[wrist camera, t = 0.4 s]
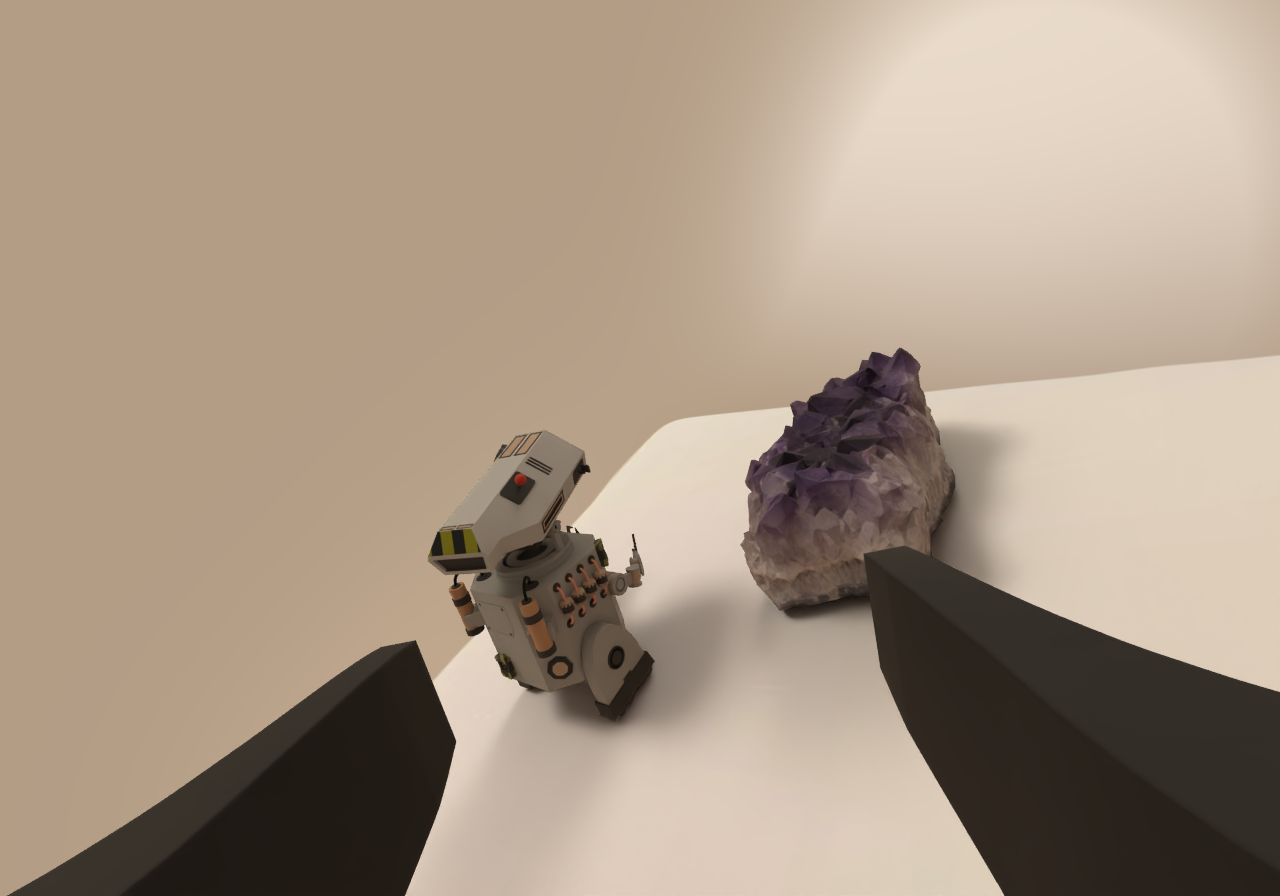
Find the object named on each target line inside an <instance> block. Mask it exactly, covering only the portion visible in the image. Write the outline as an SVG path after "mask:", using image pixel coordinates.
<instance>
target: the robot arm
mask: <svg viewBox="0 0 1280 896" xmlns="http://www.w3.org/2000/svg"><path fill="white" fill-rule="evenodd" d="M863 555H864V562H865V569H866V575H867V582H868V589H869V595H870V602H871V609H872V615H873V622H874V629H875V635H876V642H877V649H878V655H879V662H880V668H881V670H882V673H883V675H884V677H885V680H886V682H887V684H888V687H889V689H890V691H891V694H892V696H893V698H894V701H895V703H896V705H897V707H898V709H899V712H900V714H901V716H902V718H903V721H904V723H905V725H906V727H907V729H908V731H909V733H910V735H911V737H912V738H913V740H914V742H915V744H916V745H917V747H918V749H919V750H920V752H921V754H922V756H923V757H924V759H925V761H926V763H927V764H928V766H929V768H930V769H931V771H932V773H933V775H934V776H935V778H936V780H937V781H938V783H939V785H940V787H941V788H942V790H943V792H944V793H945V795H946V797H947V798H948V800H949V802H950V804H951V805H952V807H953V809H954V810H955V812H956V814H957V815H958V817H959V819H960V820H961V822H962V824H963V826H964V827H965V829H966V831H967V832H968V834H969V836H970V837H971V839H972V841H973V843H974V844H975V846H976V848H977V849H978V851H979V853H980V854H981V856H982V858H983V860H984V861H985V863H986V865H987V866H988V868H989V870H990V871H991V873H992V875H993V877H994V878H995V880H996V882H997V883H998V885H999V887H1000V888H1001V890H1002V892H1003V894H1004V896H1280V692H1277V691H1274V690H1271V689H1267V688H1264V687H1260V686H1257V685H1254V684H1250V683H1247V682H1243V681H1240V680H1237V679H1234V678H1230V677H1227V676H1224V675H1221V674H1218V673H1215V672H1212V671H1209V670H1206V669H1203V668H1200V667H1197V666H1194V665H1191V664H1188V663H1185V662H1182V661H1179V660H1176V659H1173V658H1170V657H1167V656H1164V655H1161V654H1158V653H1155V652H1152V651H1149V650H1146V649H1143V648H1141V647H1138V646H1135V645H1132V644H1130V643H1127V642H1124V641H1121V640H1119V639H1116V638H1113V637H1111V636H1108V635H1106V634H1103V633H1101V632H1098V631H1096V630H1093V629H1091V628H1088V627H1086V626H1083V625H1081V624H1078V623H1076V622H1073V621H1071V620H1068V619H1066V618H1063V617H1061V616H1058V615H1056V614H1054V613H1051V612H1049V611H1047V610H1044V609H1042V608H1040V607H1037V606H1035V605H1033V604H1030V603H1028V602H1026V601H1024V600H1021V599H1019V598H1017V597H1015V596H1012V595H1010V594H1008V593H1006V592H1004V591H1002V590H999V589H997V588H995V587H993V586H991V585H989V584H986V583H984V582H982V581H980V580H978V579H976V578H974V577H972V576H970V575H968V574H965V573H963V572H961V571H959V570H957V569H955V568H953V567H951V566H949V565H947V564H945V563H943V562H941V561H938V560H936V559H934V558H932V557H930V556H928V555H926V554H924V553H921V552H919V551H917V550H915V549H912V548H910V547H907V546H900V547H894V548H889V549H884V550H879V551H874V552H869V553H864V554H863ZM455 744H456V739H455V737H454V734H453V732H452V729H451V727H450V724H449V722H448V719H447V717H446V715H445V712H444V710H443V707H442V705H441V702H440V700H439V697H438V695H437V692H436V690H435V687H434V685H433V682H432V680H431V677H430V675H429V672H428V670H427V667H426V665H425V662H424V660H423V657H422V655H421V653H420V650H419V647H418V645H417V642H416V640H415V641H411V642H405V643H401V644H395V645H389V646H385V647H380V648H379V649H377V650H375V651H373V652H372V653H370V654H368V655H367V656H365V657H364V658H362V659H360V660H359V661H357V662H356V663H354V664H353V665H351V666H350V667H348V668H347V669H346V670H344V671H343V672H341V673H340V674H338V675H337V676H336V677H334V678H333V679H331V680H330V681H329V682H327V683H326V684H324V685H323V686H322V687H320V688H319V689H318V690H316V691H315V692H313V693H312V694H311V695H309V696H308V697H307V698H306V699H304V700H303V701H301V702H300V703H299V704H297V705H296V706H294V707H293V708H292V709H290V710H289V711H288V712H286V713H285V714H284V715H282V716H281V717H279V718H278V719H277V720H275V721H274V722H273V723H271V724H270V725H269V726H267V727H266V728H265V729H263V730H262V731H261V732H259V733H258V734H256V735H255V736H254V737H252V738H251V739H250V740H248V741H247V742H245V743H244V744H243V745H241V746H240V747H238V748H237V749H235V750H234V751H232V752H231V753H230V754H228V755H227V756H225V757H224V758H223V759H221V760H220V761H218V762H217V763H215V764H214V765H213V766H211V767H210V768H208V769H207V770H206V771H204V772H203V773H201V774H200V775H198V776H197V777H196V778H194V779H193V780H191V781H190V782H188V783H187V784H186V785H184V786H183V787H181V788H180V789H178V790H177V791H176V792H174V793H173V794H171V795H170V796H168V797H167V798H165V799H164V800H162V801H161V802H159V803H158V804H156V805H155V806H153V807H152V808H150V809H149V810H147V811H146V812H144V813H143V814H141V815H140V816H138V817H137V818H135V819H134V820H132V821H130V822H129V823H127V824H126V825H124V826H123V827H121V828H119V829H118V830H116V831H115V832H113V833H111V834H110V835H108V836H107V837H105V838H104V839H102V840H100V841H99V842H97V843H95V844H94V845H92V846H91V847H89V848H87V849H86V850H84V851H83V852H81V853H79V854H78V855H76V856H75V857H73V858H71V859H70V860H68V861H66V862H65V863H63V864H61V865H60V866H58V867H56V868H55V869H53V870H51V871H50V872H48V873H46V874H45V875H43V876H41V877H39V878H38V879H36V880H34V881H32V882H31V883H29V884H27V885H25V886H24V887H22V888H20V889H18V890H16V891H15V892H13V893H11V894H9V895H8V896H405V894H406V892H407V889H408V887H409V884H410V882H411V879H412V877H413V874H414V872H415V869H416V867H417V864H418V862H419V859H420V856H421V854H422V851H423V849H424V846H425V844H426V841H427V838H428V836H429V833H430V831H431V828H432V826H433V823H434V820H435V818H436V815H437V812H438V810H439V807H440V804H441V800H442V796H443V793H444V789H445V786H446V782H447V778H448V774H449V770H450V766H451V762H452V757H453V753H454V749H455Z"/></svg>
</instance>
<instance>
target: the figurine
mask: <svg viewBox="0 0 1280 896" xmlns="http://www.w3.org/2000/svg"><path fill="white" fill-rule="evenodd" d="M585 472H590V469H589V466H588V465H586V460H585V453H584V451H583V450H581V449H579V448H577V447H576V446H574V445H572V444H570V443H568V442H566V441H564V440H563V439H561V438H559V437H557V436H555V435H553V434H552V433H549V432H548V431H545V430H543V431H538V432H533V433H528V434H523V435H518V436H515V437H514V438H513V439H512V440H511V442H510V443H509V444H508V445H502V446H501V449H500V450H499V452H498V453H497V455H496V457H495V460H494V463H493V464H492V465H491V467H490V468H489V469H488V470H487V472H486V473H485V474H484V475H483V476H482V478H481V479H480V480H479V481H478V483H477V484H476V485H475V486H474V488H473V489H472V490H471V491H470V492H469V494H468V495H467V496H466V498H465V499H464V500H463V501H462V502H461V504H460V505H459V506H458V507H457V509H456V510H455V511H454V512H453V514H452V515H451V516H450V517H449V518H448V520H447V521H446V522H445V523H444V525H443V526H442V527H441V528H440V530H439V531H438V532H437V535H436V538H435V540H434V543H433V545H432V548H431V550H430V553H429V556H428V562H430V563H431V564H432V565H434V566H435V567H436V568H437V569H438V570H440V571H441V572H442V573H443V574H445V575H453V574H455V577H454V585H453V586H451V587H450V588H449V592H450V594H451V596H452V600H453V602H454V605H455V606H456V607H457V609H458V612H459V614H460V616H461V618H462V620H463V623H464V625H465V627H466V632H467V634H468V636H475V635H478V634H479V633H481V632H482V631H483V630H484V625H486V627H487V629H488V632H489V634H490V636H491V638H492V641H493V643H494V645H495V647H496V650H497V652H498V654H497V655H496V656H495V659H496V661H498V664H499V666H500V668H501V669H500V670H501V673H502V674H503V676H505V677H508V678H509V679H511V680H512V679H515V680H517V681H518V683H519V685H520V686H523V687H525V688H528V689H532V688H533V687H537V688H539V689H542V690H545V691H548V692H552V691H555V690H558V689H561V688H564V687H567V686H570V685H573V684H576V683H579V682H582V681H585V679H587V682H588V684H589V686H590V688H591V690H592V692H593V694H594V695H595V698H596V701H595V704H596V706H597V708H598V711H599V713H600V715H601V716H603V717H606V718H608V719H611V720H614V721H616V720H617V718H618V717H619V716H622V715H623V714H624V713H625V706H626V704H630V703H631V702H632V700H633V694H634V692H635V691H636V689H637V688H638V686H642V685H643V684H644V681H645V675H649V674H650V673H651V671H652V665H653V663H654V662H655V661H654V660H653V658H652V657H651V656H650V655H649V653H648V652H647V651H643V649H642V648H641V647H640V645H639V644H638V642H637V641H636V639H635V638H634V637H633V636H632V635H631V634H630V633H629V632H628V631H627V630H626V629H625V625H624V619H623V616H622V614H621V611H620V608H619V605H618V603H617V600H616V597H615V595H617V596H620V595H623V594H624V593H625V591H626V590H627V587H628V586H629V587H631V588H634V587H639V586H641V585H642V581H640V579H641V574H642V576H644V569H643V565H642V562H641V559H640V556H639V554H638V552H637V547H636V543H635V538H634V534H632V538H633V542H634V548H635V550H634V549H632V551H633V559H632V558H631V557H630V565H631V566H630V567H627V568H626V572H627V573H625V574H622V573H615V572H609V571H606V569H605V566H608V565H609V564H608V557H607V554H606V552H605V550H604V547H603V544H602V540H601V538H600V539H597V540H595V539H594V536H593V535H591V534H580V533H579V532H578V531H577V529H576V528H575V531H576V533H571V532H570V528H573V527H571V526H566V527H567V532H562V531H560V529H561V525H560V523H561V522H560V521H559V520H556V518H557V516H558V515H559V513H560V511H561V510H562V508H563V506H564V505H565V503H566V502H567V500H568V498H569V497H570V495H571V493H572V492H573V490H574V488H575V486H576V485H577V483H578V482H579V480H580V478H581V477H582V475H583V474H585ZM471 573H476V574H475V577H474V580H473V583H472V586H471V589H470V591H471V593H472V595H473V598H474V600H475V602H476V603H475V604H473V603H472V601H471V597H470V595H469V592H468V591H467V589H466V588H465V585H464V583H463V582H460V583H457V580H456V579H457V576H458V575H459V574H471Z"/></svg>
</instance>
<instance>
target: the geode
mask: <svg viewBox="0 0 1280 896" xmlns="http://www.w3.org/2000/svg"><path fill="white" fill-rule="evenodd" d="M919 370H920V364H919V363H918V361H917V360H916V359H914V358H913V356H912V355H911V354H909V353H908V352H907V351H905V350H903V349H902V348H899V349H898V350H897V351H896V353H895V354H894V355H893V357H892V358H891V357H888V356H886V355H883V354H881V353H876V352H872V353H871V355H870V358H869V360H862V362H861V365H860V368H859V371H858V372H856V373H855V374H853V375H851V376H850V377H848V378H846V379H845V380H844V379H840V378H832V379H830V380H829V382H827V383H826V385H825V386H824V389H823V392H822V393H818V394H816V395H813V396H811V397H810V398H809V400H808V401H807V403H805V402H801V401H795V402H793V403H792V404H791V405H790V406H791V409H792V412H793V415H794V417H793V426H792V427H790V426H785V430H784V434H783V435H782V436H781V437H780V438H779V439H778V441H776V442H775V443H774V444H773V445H772V447H771V448H770V449H769V450H768V451H767V452H765V453H763V454H762V456H761V457H760V458H759V461H756V460H751V463H750V467H749V470H748V474H747V477H746V480H745V483H746V485H747V487H748V488H749V489H750V490H751V491H752V492H751V493H750V494H749V495H748V508H749V524H750V526H749V531H748V532H746V533H744V537H745V539H744V540H743V542H742V543H741V547H742V548H743V550H744V552H745V554H744V555H745V558H746V561H747V565H748V566H749V568H750V572H751V574H752V576H753V578H754V580H755V581H756V583H757V585H758V586H759V587H760V588H761V589H762V590H763V591H764V592H765V593H766V594H767V595H768V597H769V598H770V599H771V600H772V601H773V603H774V604H775V605H776V607H777V608H778V609H779V610H783V609H788V608H793V607H796V606H809V605H816V604H820V603H823V602H827V601H832V600H837V599H840V598H842V597H845V596H869V589H868V582H867V575H866V569H865V562H864V555H863V554H864V553H869V552H874V551H879V550H884V549H889V548H894V547H900V546H907V547H910V548H912V549H915V550H917V551H919V552H921V553H924V554H926V555H928V556H930V557H932V554H931V547H930V545H931V535H932V534H933V532H934V531H935V530H936V529H937V528H938V526H939V525H940V524H941V523H942V521H943V520H942V514H943V512H944V510H945V508H946V504H947V502H948V501H949V500H950V498H951V497H952V494H953V491H954V489H955V475H954V473H953V470H952V469H951V468H950V467H949V466H948V465H947V464H946V462H945V458H944V454H943V451H942V450H941V448H940V446H939V445H940V436H939V430H938V428H937V427H936V425H935V421H934V419H933V417H932V416H931V414H930V413H931V409H930V408H929V407H928V406H927V405H926V400H925V395H924V393H923V391H922V390H921V388H920V383H919V375H918V372H919Z"/></svg>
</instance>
